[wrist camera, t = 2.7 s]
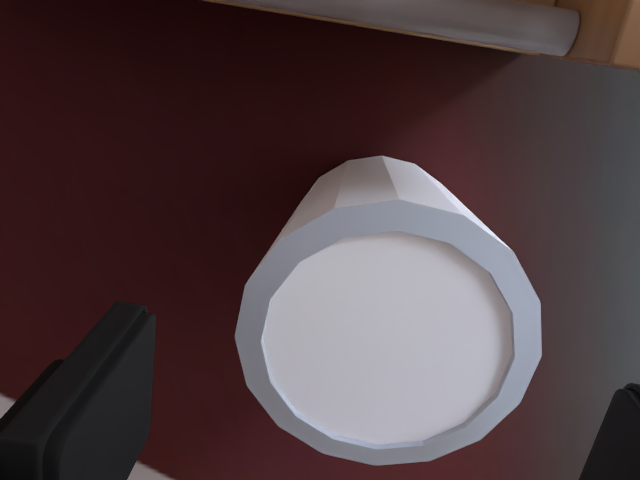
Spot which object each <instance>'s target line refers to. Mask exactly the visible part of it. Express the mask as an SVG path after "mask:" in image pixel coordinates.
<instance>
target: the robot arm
mask: <svg viewBox="0 0 640 480" xmlns="http://www.w3.org/2000/svg"><path fill="white" fill-rule="evenodd" d="M155 332H156V316H155V314H149V313H148V310H147V307H146V306H145V305H138V304H132V303H126V302H120V301H117V302H116V303H115V304H114V305H113V306H112V307H111V308H110V309H109V310H108V311H107V313H106V314H105V315H104V316H103V317H102V318H101V319H100V321H99V322H98V323H97V324H96V325H95V326H94V327H93V329H92V330H91V331H90V332H89V333H88V334H87V335H86V336H85V338H84V339H83V340H82V341H81V342H80V343H79V344H78V346H77V347H76V348H75V349H74V350H73V351H72V352H71V354H70V355H69V356H68V357H67V358H66V359H65V360H61V359H59V360H55V361H54V362H53V363H51V364H50V365H49V366H48V367H47V368H46V369H45V371H44V372H43V373H42V374H41V375H40V376H39V377H38V378H37V379H36V380H35V382H34V383H33V384H32V385H31V386H30V387H29V388H28V389H27V390H26V391H25V392H24V394H23V395H22V396H21V397H20V398H19V399H18V400H17V401H16V402H15V403H14V405H13V406H12V407H11V408H10V409H9V410H8V411H7V412H6V413H5V414H4V416H3V417H2V418H1V419H0V480H127V479H128V477H129V475H130V472H131V471H132V468H133V467H134V465H135V463H136V461H137V459H138V457H139V455H140V453H141V451H142V449H143V447H144V445H145V442H146V440H147V437H148V434H149V429H150V422H151V405H152V387H153V368H154V350H155ZM579 480H640V384H633V383H630V384H627V385H626V386H625V387H624V388H623V389H618V390H617V391H616V392H615V394H614V395H613V398H612V400H611V403H610V405H609V408H608V410H607V413H606V415H605V417H604V420H603V422H602V425H601V427H600V430H599V432H598V434H597V437H596V439H595V442H594V444H593V447H592V449H591V451H590V454H589V456H588V459H587V461H586V464H585V466H584V468H583V471H582V473H581V476H580V478H579Z"/></svg>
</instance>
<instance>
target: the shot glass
mask: <svg viewBox="0 0 640 480" xmlns="http://www.w3.org/2000/svg"><path fill="white" fill-rule="evenodd" d="M235 341H236V345H237V349H238V353H239V357H240V361H241V365H242V368H243V372H244V376H245V380H246V384H247V387H248V388H249V389H250V391H251V392H252V393H253V394H254V396H255V397H256V398H257V400H258V401H259V402H260V404H261V405H262V406H263V407H264V409H265V410H266V411H267V413H268V414H269V415H270V416H271V418H272V419H273V420H274V422H275V423H276V424H277V426H279V427H280V428H282V429H283V430H285V431H287V432H288V433H290V434H292V435H293V436H295V437H297V438H298V439H300V440H301V441H303V442H305V443H306V444H308V445H310V446H311V447H313V448H314V449H316V450H318V451H319V452H321V453H323V454H327V455H331V456H336V457H340V458H344V459H349V460H353V461H357V462H362V463H366V464H371V465H375V466H377V465H389V464H401V463H413V462H425V461H431V460H434V459H436V458H439V457H441V456H443V455H446V454H448V453H450V452H453V451H455V450H458V449H460V448H462V447H465V446H467V445H469V444H472V443H474V442H477V441H479V440H481V439H482V438H483V437H484V436H485V435H486V434H487V433H488V432H490V431H491V430H492V429H493V428H494V427H495V426H496V425H497V424H498V423H499V422H500V421H501V420H503V419H504V418H505V417H506V416H507V415H508V414H509V413H510V412H511V411H512V410H513V409H514V408H516V407H517V406H518V405H519V404H520V402H521V400H522V398H523V396H524V393H525V391H526V389H527V387H528V385H529V382H530V380H531V378H532V376H533V374H534V371H535V369H536V367H537V365H538V363H539V360H540V358H541V356H542V346H541V304H540V300H539V298H538V297H537V295H536V293H535V291H534V289H533V287H532V285H531V284H530V282H529V280H528V278H527V276H526V274H525V272H524V270H523V269H522V267H521V265H520V263H519V261H518V259H517V257H516V256H515V254H514V252H513V251H512V250H511V249H510V248H509V247H508V246H507V245H506V244H505V243H504V242H502V241H501V240H500V239H499V238H498V237H497V236H496V235H495V234H494V233H493V232H492V231H491V230H490V229H489V228H488V227H487V226H486V225H484V224H483V223H482V222H481V221H480V220H479V219H478V218H477V217H476V216H475V215H474V214H473V213H472V212H471V211H470V210H469V209H468V208H466V207H465V206H464V205H463V204H462V203H461V202H460V201H459V200H458V199H457V198H456V197H455V196H454V195H453V194H452V193H451V192H450V191H449V190H447V189H446V188H445V187H444V186H443V185H442V184H441V183H440V182H438V181H437V180H436V179H434V178H433V177H432V176H430V175H429V174H428V173H426V172H425V171H424V170H422V169H421V168H420V167H418V166H417V165H416V164H414V163H410V162H406V161H402V160H398V159H394V158H390V157H386V156H375V157H368V158H361V159H355V160H348V161H346V162H344V163H343V164H341V165H339V166H338V167H336V168H334V169H333V170H331V171H329V172H328V173H326V174H324V175H322V176H321V177H319V178H318V180H317V181H316V182H315V184H314V185H313V186H312V188H311V189H310V190H309V192H308V193H307V194H306V196H305V197H304V198H303V200H302V201H301V203H300V204H299V205H298V207H297V208H296V210H295V211H294V213H293V214H292V216H291V217H290V219H289V220H288V222H287V223H286V225H285V226H284V228H283V229H282V231H281V232H280V234H279V235H278V237H277V238H276V240H275V241H274V243H273V244H272V246H271V247H270V249H269V250H268V252H267V253H266V255H265V256H264V258H263V259H262V261H261V262H260V264H259V265H258V267H257V268H256V270H255V271H254V273H253V274H252V276H251V277H250V279H249V280H248V282H247V283H246V285H245V288H244V293H243V298H242V303H241V308H240V313H239V317H238V322H237V327H236V332H235Z"/></svg>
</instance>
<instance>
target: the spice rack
mask: <svg viewBox="0 0 640 480" xmlns="http://www.w3.org/2000/svg"><path fill="white" fill-rule="evenodd" d="M201 1H207V2H214V3H220V4H226V5H232V6H238V7H244V8H250V9H256V10H262V11H268V12H274V13H280V14H286V15H292V16H298V17H304V18H310V19H316V20H323V21H329V22H335V23H341V24H347V25H353V26H359V27H365V28H371V29H377V30H383V31H389V32H395V33H401V34H407V35H413V36H419V37H426V38H432V39H438V40H444V41H450V42H456V43H462V44H468V45H474V46H480V47H486V48H492V49H498V50H504V51H510V52H516V53H522V54H529V55H535V56H542V57H548V58H555V59H561V60H568V61H574V62H581V63H587V64H594V65H600V66H607V67H613V68H620V69H626V70H633V71H639V72H640V0H201Z"/></svg>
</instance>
